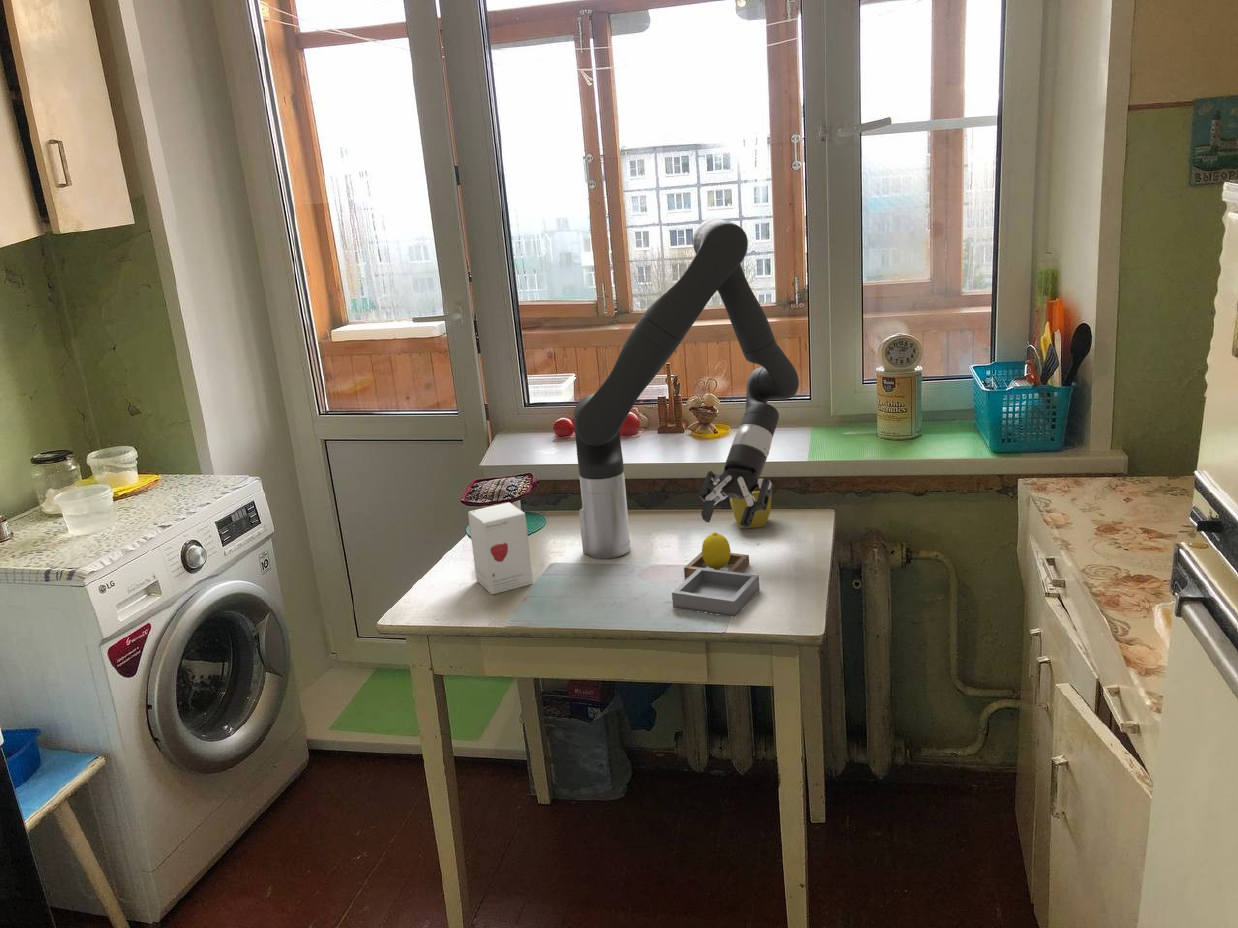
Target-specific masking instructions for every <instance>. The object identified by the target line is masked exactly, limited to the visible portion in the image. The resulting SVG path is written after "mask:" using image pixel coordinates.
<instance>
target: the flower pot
mask: <svg viewBox="0 0 1238 928" xmlns="http://www.w3.org/2000/svg"><path fill="white" fill-rule="evenodd" d="M760 479H761V480H763V479H764V478H760ZM759 492H760V488H759V486H758V487H757V488H756V489H755V490H754V491H753V492H752V493H753V496H754V499H755V501H757V499H758V496H759ZM772 493H773V490H772V491H771V495H770V498H769V502H768V506H767V509H766V510H762V509H761V510H757V511H756V512H755V515H754V518H753V521H752V524H751V525H750V526H748V528H747V529H749V528H750V529H751V528H762V527H765V524H767V522H768V520H769V516H770V513H771V508H772V507H771V506H772V496H773V495H772ZM729 503H730V506H731V509H732V512H733V517H734V519H735V521H736V523H737V525H738V527H739V528H740V529H744V528H743V527H742V526H741V524H740V522H741V519H742V516H743V513H744V510H745V507H748V505H747V502H746V499H745V498H743V499H739V498H736V497H735V498H729Z"/></svg>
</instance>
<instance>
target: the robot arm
mask: <svg viewBox="0 0 1238 928" xmlns="http://www.w3.org/2000/svg"><path fill="white" fill-rule="evenodd" d="M692 239H693V240H692V247H693V250H694V252H695V255H694V257H693V259H692V260H691V261H690V263H689V265H688V267H687V268H686V269H685V271H684V273H683V274H682V276H681V277H679V279H678V280H677V281H676V282H674V284H673V285H671V286H670V287H669V288H668V289H667V290H665V291H664V292H663V293H662V294H661V295H660V296H658V297H657V298H656V299H655V300H654V301H653V302H652V303H651V304H650V306H648V308H647V309H646V310H645V311H644V312H643V315H642V316H640V318H639V320H638V321H637V323H636V324H635V325H634V327H633V328H632V330H631V332H630V333H629V335H628V337H627V339H626V340H625V342H624V344H623V346H622V349H621V350H620V353H619V354H618V357H617V359H616V361H615V364H614V366H613V368H612V369H611V371H610V373H609V374H608V376H607V378H606V379H605V380H604V382H603V383H602V385H601V386H600V387H599V388H598V389H597V391H596V392H595V393H591V394H588V395H586V396H584V397H582V398H581V399H580V400H579V401H578V402H577V404H575V405H576V406H575V407H574V411H573V424H574V425H573V426H574V437H575V438H574V439H575V445H576V446H575V447H576V458H577V467H578V475H579V483H580V485H579V486H580V493H581V494H580V496H581V504H582V505H581V507H582V508H580V509H579V511H578V515H579V516H578V517H579V525H580V535H581V537H580V538H581V545H582V553H583V554H586V555H588V556H590V557H592V558H595V559H613V558H618V557H621V556H625V555H626V554H627V553H629V552H630V551H631V538H630V528H629V527H630V526H629V515H628V513H629V512H628V503H627V492H626V491H627V490H626V489H627V488H626V482H625V481H626V479H625V469H624V468H625V467H624V458H623V451H622V450H623V449H622V442H621V428H622V426H623V425H624V423H625V421H626V419H627V417H628V415H629V413H630V412H631V410H632V408H633V407H634V405H635V403H636V402H637V400H638V399H639V397H640V396H641V395H642V393H643V392H644V391H645V389H646V388H647V387H648V386H649V384H650V383H651V382H652V381H653V380H654V379H655V377H656V376H657V374H659V372H660V371H661V370H662V368H663V367H664V366H665V364H666V363H667V361H669V359H670V358H671V357H672V355H673V354H674V352H675V351H676V350H677V348H678V347H679V345H680V344H681V342H683V340H684V338H685V337H686V336H687V333H689V330H690V329H691V328H692V327H693V325H694V324H695V322H696V321H697V319H698V318H699V316H700V315H701V313H702V311H703V310H704V308H705V307H706V305H707V304H708V303H709V301H710V300H711V298H712V297H713V296H714V295H715V293H716V292H718V294H719V297H720V299H721V301H722V303H723V306H724V307H725V310H726V313H727V316H728V318H729V320H730V324H731V327H732V330H733V331H734V334H735V336H736V339H737V342H738V345H739V346H740V349H741V352H742V354H743V356H744V359H745V360H746V361H747V362H749V363H752V364H755V365H760V367H757V368H754V370H753V371H752V372H751V373H750V374H749V376H748V377H747V381H746V393H745V394H746V396H745V410H744V414H743V416H742V420H741V422H740V425H739V427H738V430H737V431H736V433H735V434H734V437H733V440H732V443H731V446H730V449H729V453H728V455H727V457H726V460H725V463H724V467H723V468H724V470H723V471H722V472H721V474H717V473H714V471H712V470H709V471H708V472H707V473H706V476H705V479H704V481H703V484H702V485H701V487H700V489H699V492H698V497H699V498H700V499H701V501H702V502H704V506H703V508H702V511H701V519H702V520H703V521H704V522H705V523H710V521H711V519H712V516H713V514H714V511H715V508H716V504H718V503H719V502H721V501H724V500H725V499H726V498H729V499H730V498H735V497H736V498H739V499H743V498H745V499H746V502H747V505H748V507H745V510H744V513H743V516H742V519H741V522H740V524H741V526H742V527H743V528H742V529H749V528H748V526H750V525H751V524H752V521H753V518H754V515H755V512H756V511H757V510H761V509H762V510H766V509H767V506H768V502H769V498H770V495H771V491H772V492H773V487H774V485H773V484H774V483H772V481H771V480H770V479H769V478H768V477H764V478H761V476H762V475H763V472H764V468H765V466H766V462H767V460H768V456H769V454H770V452H771V451H770V450H771V446H772V441H773V437H774V435H775V432H776V429H777V425H778V422H779V418H780V414H779V411H778V409H777V408H776V407H775V406H773V405H771V404H769V403H768V402H769V401H777V400H782V401H783V400H789V399H791V398H793V397H794V396H795V395H796V394H797V392H798V390H799V385H800V384H799V383H800V379H799V375H798V371H797V370H796V368H795V367H794V365H793V363H792V362H791V361H790V359H789V358H788V357H787V355H786V354H785V353H784V351H783V350H782V349H781V347H780V345H778V343H777V342H776V341H777V340H776V338H775V336H774V335H775V334H774V333H773V331H772V328H771V325H770V323H769V320H768V318H767V315H766V313H765V312H764V309H763V307H762V305H761V304H760V302H759V300H758V299H757V297H756V296H755V293H754V292H753V290H752V288H751V286H750V283H749V282H748V280H747V278H746V275H745V273H744V270H743V267H742V262H743V260H745V257H746V255H747V252H748V249H749V248H748V247H749V240H748V239H749V238H748V236H747V234H746V231H744V229H743V228H742V227H741V226H740V225H738V224H736V223H735V222H731V221H729V220H726V219H724V218H716V217H712V218H709V219H706V220H704V221H703V222H701V223H700V224H699V225H698V226H697V228H696V229H695V231H694V233H693V237H692ZM761 479H763V480H761ZM719 482H720V483H719ZM718 483H719V484H718ZM758 486H759V488H760V492H759V496H758V499H757V501H755V499H754V496H753V493H752V492H753V491H754V490H755V489H756V488H757V487H758ZM721 491H722V492H721Z"/></svg>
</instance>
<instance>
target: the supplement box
mask: <svg viewBox="0 0 1238 928" xmlns="http://www.w3.org/2000/svg"><path fill="white" fill-rule="evenodd" d="M467 514H468V524H469V531H470V537H471V538H470V539H471V547H472V554H473V563H474V569H475V579H476V582H478V583H479V585H481V586H482V587H483V588H484V589H485V590H486V591H487V592H488V593H489V594H490V595H491V596H492V595H495V594H499V593H503V592H507V591H511V590H515V589H518V588H522V587H526V586H530V585H532V584H534V580H533V572H532V571H533V570H532V562H531V556H530V555H531V554H530V553H531V552H530V546H529V545H530V544H529V537H528V524H527V517H526V513H525V512H524V511H523V510H521V509H520V508H518V506H517V507H516V506H515V505H514V504H512V503H511V502H504V503H499V504H496V505H491V506H486V507H482V508H479V509H474V510H470V511H468V512H467Z"/></svg>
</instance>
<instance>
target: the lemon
mask: <svg viewBox="0 0 1238 928" xmlns="http://www.w3.org/2000/svg"><path fill="white" fill-rule="evenodd" d="M701 552H702V557H703V560H704V562H705V564H704V565H706V566H707V568H709V569H716V570H722V569H723V568H724V567H726V566H727V565H728V564H727V563H728V562H729V559H730V554H731V553H732V551H731V547H730V544H729V541H728V539H727V538H726V537H725V536H724V535H722V534H720V533H718V532H716V531H714V532H712V533H711V534H709V535H708V536H706V537H705V539H704V540H703V542H702V545H701Z"/></svg>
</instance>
